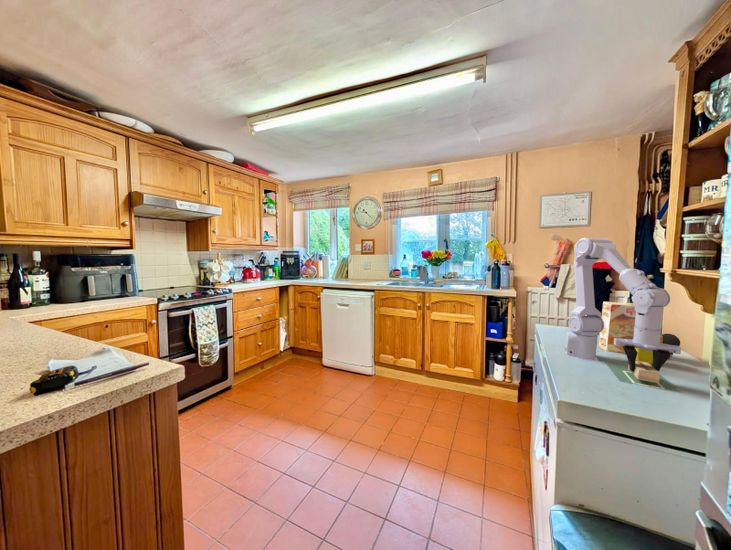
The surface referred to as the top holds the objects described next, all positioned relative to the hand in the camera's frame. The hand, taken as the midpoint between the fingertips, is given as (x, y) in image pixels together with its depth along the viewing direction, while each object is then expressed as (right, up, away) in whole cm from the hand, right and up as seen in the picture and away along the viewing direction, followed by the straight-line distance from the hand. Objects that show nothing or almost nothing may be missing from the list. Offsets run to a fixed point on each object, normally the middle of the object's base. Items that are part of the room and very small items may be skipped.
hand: (642, 372), depth 88 cm
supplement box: (+16, -2, +16) cm, 23 cm away
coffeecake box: (+19, -1, +27) cm, 33 cm away
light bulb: (+27, -2, +19) cm, 33 cm away
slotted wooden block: (0, -1, 0) cm, 1 cm away
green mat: (+2, -3, +3) cm, 4 cm away
